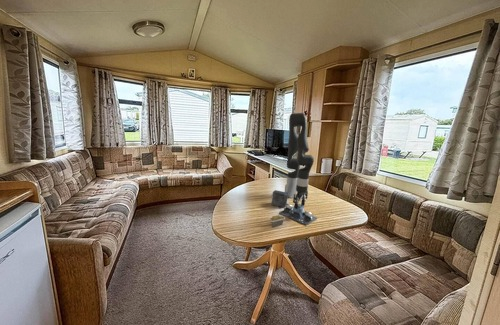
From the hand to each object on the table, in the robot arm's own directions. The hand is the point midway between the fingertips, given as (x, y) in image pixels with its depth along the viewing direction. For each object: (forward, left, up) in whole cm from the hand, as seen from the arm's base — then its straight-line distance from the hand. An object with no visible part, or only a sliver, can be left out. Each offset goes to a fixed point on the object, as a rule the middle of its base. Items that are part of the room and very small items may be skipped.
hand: (299, 206), depth 146 cm
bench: (0, 0, -7) cm, 7 cm away
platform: (-2, -22, -8) cm, 24 cm away
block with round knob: (0, 0, -6) cm, 6 cm away
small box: (-20, +5, -7) cm, 22 cm away
